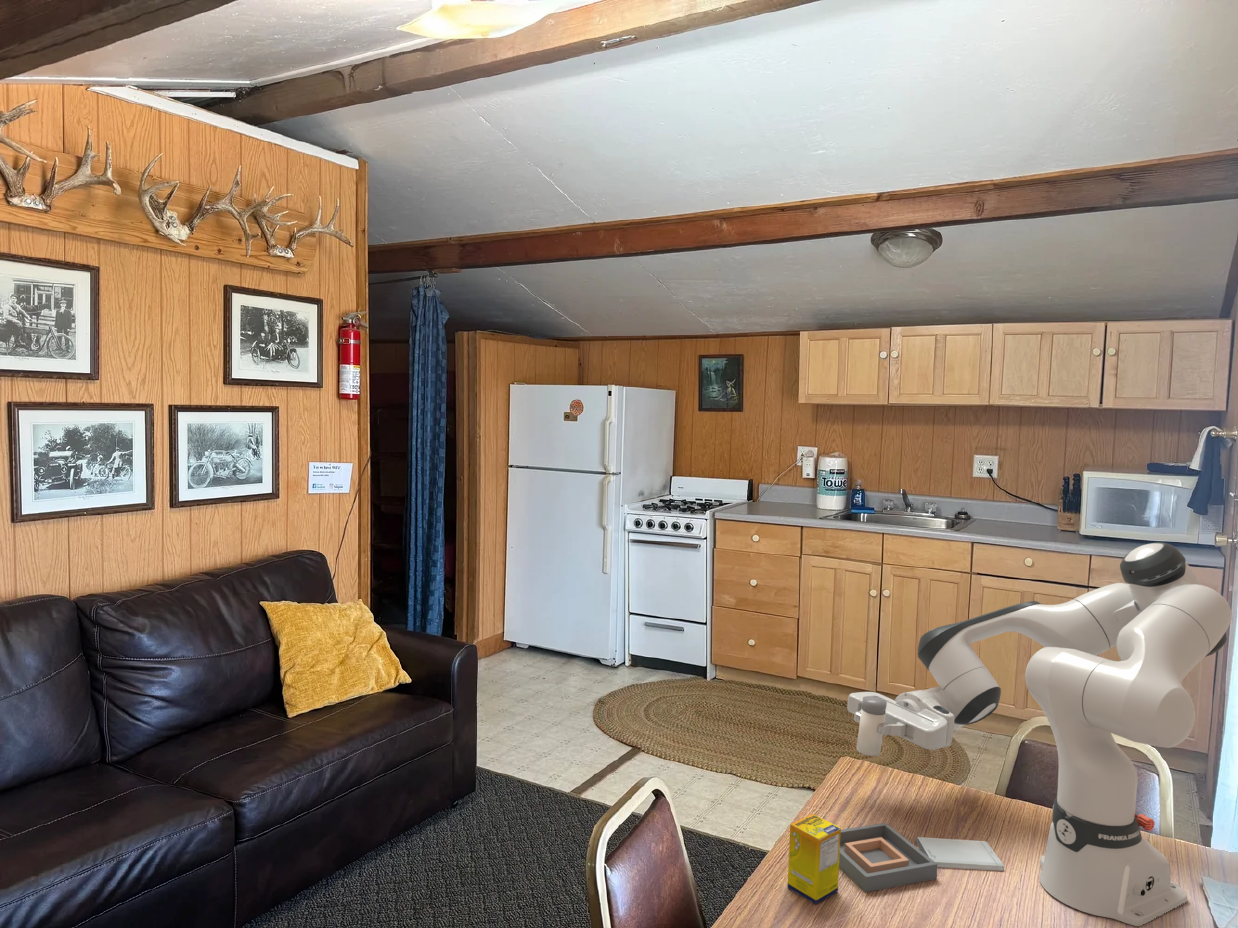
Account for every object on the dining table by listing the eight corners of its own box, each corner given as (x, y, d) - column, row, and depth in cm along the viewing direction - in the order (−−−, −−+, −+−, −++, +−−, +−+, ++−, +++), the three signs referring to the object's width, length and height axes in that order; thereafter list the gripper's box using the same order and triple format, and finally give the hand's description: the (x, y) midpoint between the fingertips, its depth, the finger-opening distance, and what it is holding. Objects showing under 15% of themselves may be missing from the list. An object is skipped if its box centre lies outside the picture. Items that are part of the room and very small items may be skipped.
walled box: (884, 836, 153) (885, 822, 153) (936, 878, 140) (937, 864, 140) (818, 847, 149) (819, 833, 148) (865, 892, 135) (866, 877, 135)
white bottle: (867, 744, 163) (873, 695, 162) (885, 753, 159) (891, 703, 158) (851, 748, 161) (857, 697, 160) (869, 757, 157) (876, 706, 156)
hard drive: (930, 860, 143) (1004, 864, 143) (916, 835, 152) (985, 839, 151) (930, 870, 144) (1003, 873, 143) (915, 844, 152) (985, 848, 151)
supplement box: (808, 875, 140) (812, 812, 139) (838, 892, 135) (842, 827, 134) (785, 887, 136) (789, 823, 135) (815, 905, 131) (819, 839, 131)
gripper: (875, 681, 175) (829, 688, 167) (962, 718, 158) (914, 728, 150) (872, 710, 175) (826, 719, 168) (957, 750, 158) (910, 762, 151)
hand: (868, 723), depth 159 cm, fingers closed on white bottle, 4 cm apart
